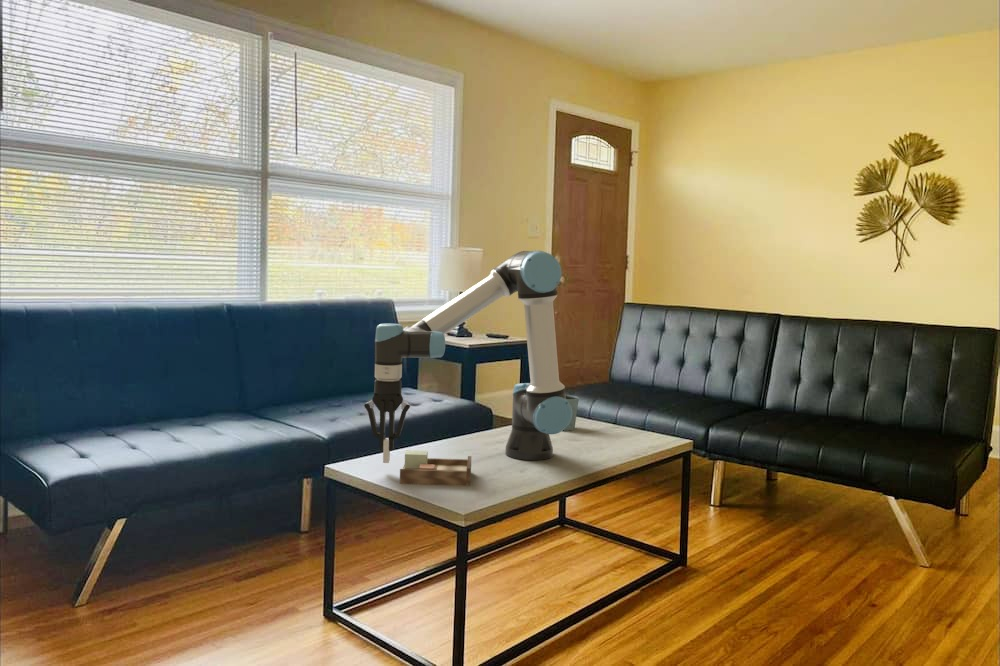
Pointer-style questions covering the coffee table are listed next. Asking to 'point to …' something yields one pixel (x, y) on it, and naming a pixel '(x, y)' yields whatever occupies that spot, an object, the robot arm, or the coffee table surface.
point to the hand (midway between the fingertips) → (386, 461)
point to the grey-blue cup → (574, 404)
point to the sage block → (415, 458)
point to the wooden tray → (439, 473)
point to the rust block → (427, 467)
